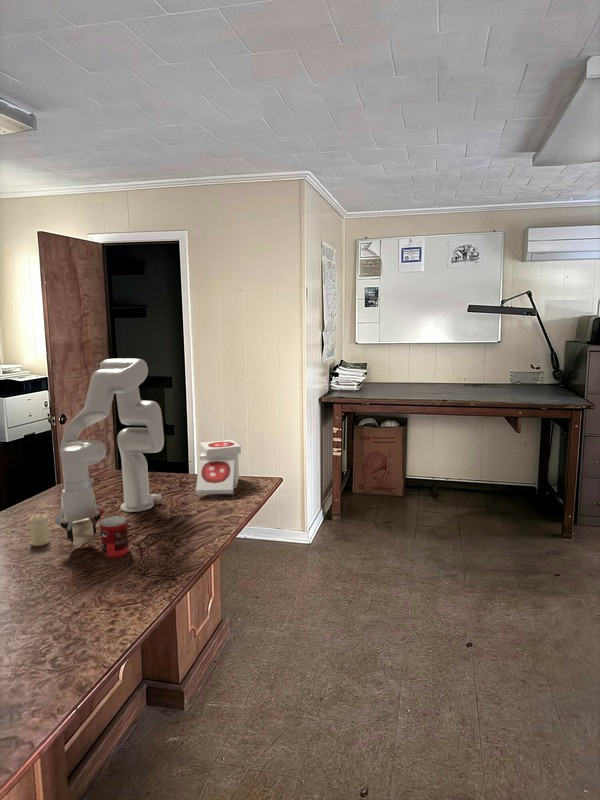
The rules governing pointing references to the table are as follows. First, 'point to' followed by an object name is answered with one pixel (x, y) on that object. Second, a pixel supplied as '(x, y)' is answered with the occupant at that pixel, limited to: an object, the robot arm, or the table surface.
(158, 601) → the table surface
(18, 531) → the table surface
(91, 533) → the birch block
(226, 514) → the table surface
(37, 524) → the candle
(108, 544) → the canned food
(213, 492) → the pizza boxes
